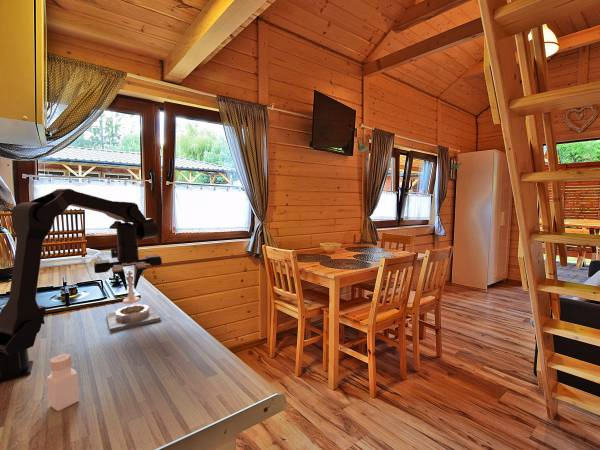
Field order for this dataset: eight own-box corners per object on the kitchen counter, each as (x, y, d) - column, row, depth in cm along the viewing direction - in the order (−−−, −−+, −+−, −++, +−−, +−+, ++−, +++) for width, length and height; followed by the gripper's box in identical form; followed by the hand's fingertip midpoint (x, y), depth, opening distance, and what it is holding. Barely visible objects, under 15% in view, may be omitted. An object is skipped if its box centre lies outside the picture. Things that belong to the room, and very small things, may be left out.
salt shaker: (57, 413, 59) (52, 365, 58) (48, 405, 61) (43, 360, 60) (81, 401, 62) (76, 356, 61) (71, 394, 64) (67, 350, 63)
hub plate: (160, 320, 101) (159, 311, 100) (110, 332, 92) (109, 322, 92) (152, 307, 112) (151, 299, 111) (106, 317, 104) (105, 308, 103)
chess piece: (119, 302, 100) (117, 272, 99) (133, 297, 105) (131, 268, 104) (128, 305, 98) (126, 274, 97) (143, 300, 102) (141, 270, 101)
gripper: (154, 236, 111) (156, 279, 113) (91, 241, 100) (95, 288, 102) (161, 240, 102) (163, 286, 104) (93, 246, 91) (96, 297, 93)
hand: (130, 289), depth 101 cm, fingers closed on chess piece, 2 cm apart
